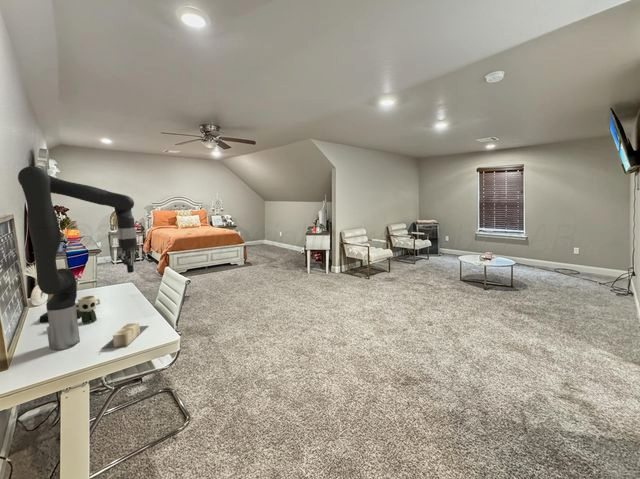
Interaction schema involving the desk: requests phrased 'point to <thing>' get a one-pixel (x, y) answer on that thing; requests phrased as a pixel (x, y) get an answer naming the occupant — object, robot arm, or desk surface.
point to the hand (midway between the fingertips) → (130, 272)
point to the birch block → (126, 334)
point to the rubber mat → (111, 345)
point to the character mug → (87, 308)
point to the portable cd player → (45, 316)
